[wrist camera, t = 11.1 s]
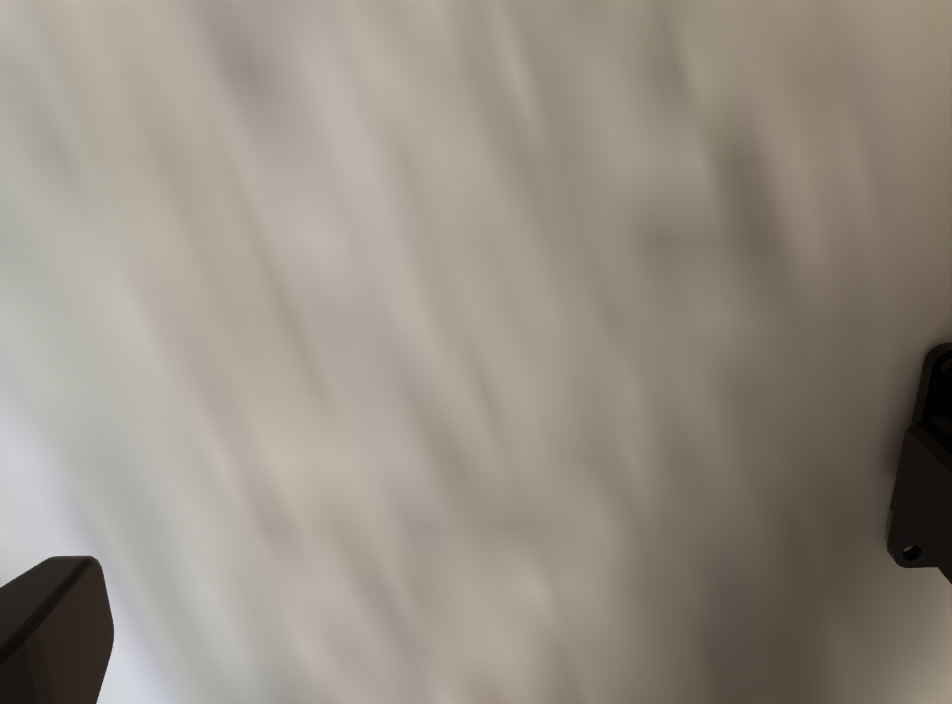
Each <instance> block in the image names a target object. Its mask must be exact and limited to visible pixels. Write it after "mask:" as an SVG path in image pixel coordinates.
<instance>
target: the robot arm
mask: <svg viewBox="0 0 952 704" xmlns="http://www.w3.org/2000/svg"><path fill="white" fill-rule="evenodd" d="M949 359H952V343H944V344H940V345H938V346H936V347H934V348H933V349H932V350H931V351H930V352H929V353H928V354H927V356H926V358H925V361H924V364H923V369H922V374H921V379H920V384H919V389H918V394H917V399H916V404H915V409H914V414H913V419H912V423H911V424H910V426H909V427H908V428H907V430H906V432H905V436H904V441H903V446H902V451H901V456H900V461H899V466H898V471H897V476H896V481H895V486H894V491H893V496H892V501H891V506H890V509H891V512H892V513H893V518H892V523H891V528H890V533H889V538H888V543H887V551H888V552H889V554H890V556H891V557H892V558H893V559H894V561H895V562H896V563H897V564H898V565H899V566H901V567H905V568H924V567H938V568H939V570H940V571H941V572H942V573H943V574H944V576H945V577H946V578H947V579H948V580H949V582H950V583H951V584H952V366H951V367H949V368H948V369H946V370H943V371H942V367H943V365H944V363H945V362H946V361H948V360H949ZM911 545H913V547H912V548H911V549H910V550H909V551H905V552H904V550H905V549H906V548H907V547H908V546H911ZM113 642H114V625H113V619H112V614H111V609H110V604H109V600H108V595H107V590H106V585H105V580H104V575H103V570H102V567H101V565H100V563H99V561H98V560H97V559H95V558H94V557H92V556H55V557H51V558H48V559H46V560H45V561H43V562H41V563H40V564H38V565H36V566H35V567H33V568H31V569H30V570H28V571H27V572H25V573H23V574H22V575H20V576H18V577H17V578H15V579H14V580H12V581H10V582H9V583H7V584H5V585H4V586H2V587H1V588H0V704H96V703H97V700H98V696H99V693H100V690H101V686H102V683H103V679H104V676H105V673H106V669H107V666H108V662H109V659H110V656H111V652H112V648H113Z"/></svg>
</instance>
